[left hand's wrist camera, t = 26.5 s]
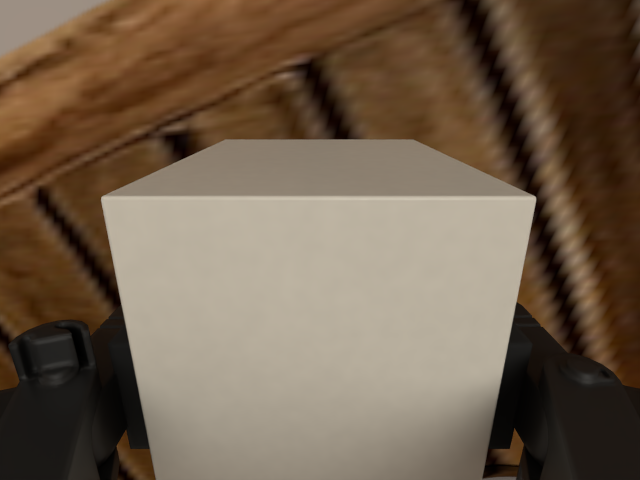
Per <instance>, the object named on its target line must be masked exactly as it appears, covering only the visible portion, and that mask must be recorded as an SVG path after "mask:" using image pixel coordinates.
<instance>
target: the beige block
mask: <svg viewBox="0 0 640 480" xmlns="http://www.w3.org/2000/svg"><path fill="white" fill-rule="evenodd" d="M101 202H102V207H103V212H104V217H105V222H106V227H107V232H108V238H109V243H110V248H111V253H112V258H113V263H114V268H115V273H116V278H117V283H118V289H119V294H120V299H121V304H122V309H123V314H124V319H125V324H126V329H127V334H128V340H129V345H130V350H131V355H132V360H133V365H134V370H135V375H136V380H137V385H138V391H139V396H140V401H141V406H142V411H143V416H144V421H145V426H146V431H147V437H148V442H149V447H150V452H151V457H152V462H153V467H154V472H155V477H156V480H482V477H483V472H484V467H485V461H486V456H487V451H488V446H489V441H490V436H491V430H492V425H493V420H494V415H495V410H496V405H497V399H498V394H499V389H500V384H501V379H502V374H503V368H504V363H505V358H506V353H507V348H508V343H509V337H510V332H511V327H512V322H513V317H514V312H515V306H516V301H517V296H518V291H519V286H520V281H521V275H522V270H523V265H524V260H525V255H526V250H527V244H528V239H529V234H530V229H531V224H532V219H533V213H534V208H535V203H536V197H535V196H533V195H531V194H529V193H526V192H524V191H522V190H520V189H518V188H516V187H514V186H511V185H509V184H507V183H505V182H503V181H501V180H499V179H496V178H494V177H492V176H490V175H488V174H486V173H484V172H482V171H479V170H477V169H475V168H473V167H471V166H469V165H467V164H464V163H462V162H460V161H458V160H456V159H454V158H452V157H449V156H447V155H445V154H443V153H441V152H439V151H437V150H434V149H432V148H430V147H428V146H426V145H424V144H422V143H419V142H417V141H415V140H224V141H222V142H219V143H217V144H215V145H213V146H211V147H209V148H206V149H204V150H202V151H200V152H198V153H196V154H193V155H191V156H189V157H187V158H185V159H183V160H180V161H178V162H176V163H174V164H172V165H169V166H167V167H165V168H163V169H161V170H159V171H156V172H154V173H152V174H150V175H148V176H146V177H143V178H141V179H139V180H137V181H135V182H133V183H130V184H128V185H126V186H124V187H122V188H120V189H117V190H115V191H113V192H111V193H109V194H106V195H104V196H102V198H101Z"/></svg>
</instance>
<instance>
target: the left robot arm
mask: <svg viewBox="0 0 640 480" xmlns="http://www.w3.org/2000/svg"><path fill="white" fill-rule="evenodd" d="M8 346H9V349H10V352H11V355H12V359H13V362H14V365H15V368H16V371H17V374H18V377H19V380H20V382H19V384H18V386H17V387H15V388H11V389H6V390H1V391H0V480H117V478H118V470H119V456H118V451H117V447H116V446H117V444H118V442H119V441H120V439H121V437H122V435H123V434H124V432H125V430H127V435H128V439H129V444H130V448H131V449H150V447H149V442H148V437H147V431H146V426H145V421H144V416H143V411H142V406H141V401H140V396H139V391H138V385H137V380H136V375H135V370H134V365H133V360H132V355H131V350H130V345H129V340H128V334H127V329H126V324H125V319H124V314H123V309H122V305H121V306H119V307H118V308H117V309H116V310H115V311H114V312H113V313H112V314H111V315H110V316H109V319H107V320H106V321H105V322H104V323H103V324H102V325H101V326H100V328H98V329H97V330H96V331H95V332H94V333H93V334H92V335H91V336H90V332H89V328H88V325H87V324H85V323H84V322H82V321H77V320H60V321H54V322H50V323H46V324H42V325H40V326H37V327H35V328H32V329H29V330H27V331H26V332H24V333H22V334H21V335H19V336H17V337H16V338H15V339H14V340H13V341H12V342H11V343H10V344H9V345H8ZM514 428H515V429H516V431H517V433H518V435H519V436H520V438H521V440H522V441H523V443H524V447H523V451H522V455H521V460H520V464H519V467H511V466H496V467H485V468H484V472H483V477H482V480H640V389H639V388H634V387H629V386H624V385H622V383H621V381H620V380H619V379H618V378H617V376H616V375H615V374H614V373H613V372H612V371H611V370H609V369H608V368H606V367H605V366H604V365H602V364H600V363H598V362H596V361H594V360H591V359H589V358H587V357H583V356H579V355H576V354H569V353H567V352H566V351H565V350H564V349H563V348H562V347H561V346H560V345H559V344H558V343H557V341H556V340H555V339H554V338H553V337H552V336H551V335H550V334H549V333H548V332H547V331H546V330H545V329H544V328H543V327H541V326H540V324H539V323H538V322H537V321H536V320H535V319H534V318H532V315H531V314H530V313H529V312H528V311H527V310H526V309H525V308H524V307H523V306H522V305H520V304H519V303H517V302H516V306H515V312H514V317H513V322H512V327H511V332H510V337H509V343H508V348H507V353H506V358H505V363H504V368H503V374H502V379H501V384H500V389H499V394H498V399H497V405H496V410H495V415H494V420H493V425H492V430H491V436H490V441H489V446H488V449H510V445H511V441H512V436H513V432H514Z"/></svg>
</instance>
